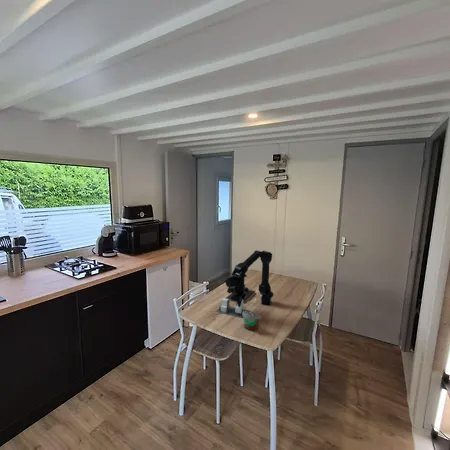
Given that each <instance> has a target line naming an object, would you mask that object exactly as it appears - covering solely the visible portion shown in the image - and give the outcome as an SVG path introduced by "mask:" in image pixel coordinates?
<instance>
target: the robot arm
mask: <svg viewBox="0 0 450 450" xmlns="http://www.w3.org/2000/svg"><path fill="white" fill-rule="evenodd" d="M259 258H260V262H261V263H262V265H261V267H262V269H261V274H262V275H261V282H260V284H258V292H259V294H260V295H261V298H260V302H261V303H260V304H261V305H265V306H271V304H272V303H273V302H272V298H273V297H274V292H273V291H271V290H272V289H271V288H272V287H271V285H270V282H269V280H270V279H269V278H270V263H271V262H272V259H273V253H272V252H271V251H267V250H262V251H260V250H255V251H253V253H252V254H251V255H250V256H248V257H247V258H246V259H245V260H244V261H243V262H240V263H238V264H236V265H235V266H234V268H233V271H232V272H231V274H230V275H231V276H227V278H226V280H225V285H226V287H227V293H228V294H231V293H233V292H234V293H235V294H234V295H232V296H231V300H232V302H235V301H237V304H238V307H240V305H241V303H242V300H244V299H245V297H246V295H247V294H245V291H246V292H247V293H248V292H249V290H250V289H249V287H247V286H246V284H245V278H246V277H248V276H247V274H246V273H247V272H248V271H249V267H251V266H252V265H253V264H254V263H255V262H256V261H257V260H258V259H259ZM236 293H237V294H236ZM231 300H230V301H231Z"/></svg>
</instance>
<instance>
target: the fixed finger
mask: <svg viewBox="0 0 450 450" xmlns="http://www.w3.org/2000/svg"><path fill="white" fill-rule="evenodd" d="M221 305H222V306H221ZM221 305H220V306H221V311H222V312H227V307H230V306H231V303H230V300H229V299H226V297H223V298H222V299H221Z"/></svg>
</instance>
